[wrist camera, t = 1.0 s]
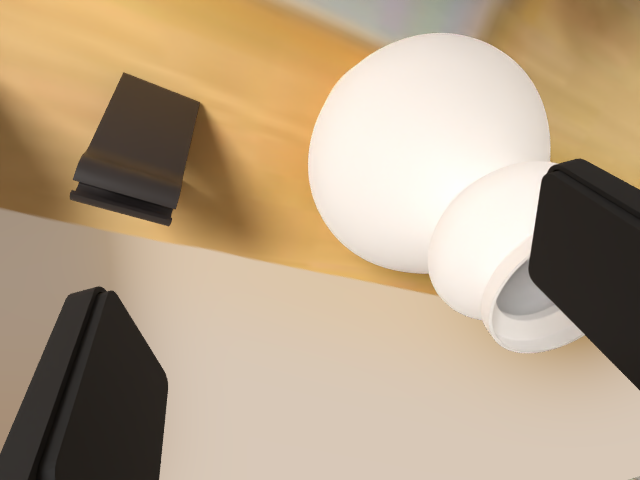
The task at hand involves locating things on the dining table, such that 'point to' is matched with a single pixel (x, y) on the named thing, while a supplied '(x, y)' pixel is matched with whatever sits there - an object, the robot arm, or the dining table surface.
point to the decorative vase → (443, 178)
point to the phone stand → (138, 152)
